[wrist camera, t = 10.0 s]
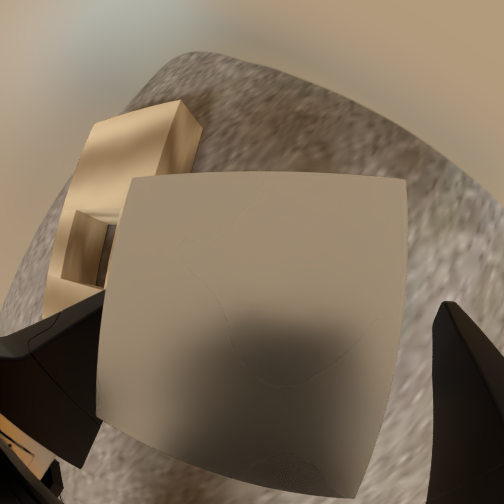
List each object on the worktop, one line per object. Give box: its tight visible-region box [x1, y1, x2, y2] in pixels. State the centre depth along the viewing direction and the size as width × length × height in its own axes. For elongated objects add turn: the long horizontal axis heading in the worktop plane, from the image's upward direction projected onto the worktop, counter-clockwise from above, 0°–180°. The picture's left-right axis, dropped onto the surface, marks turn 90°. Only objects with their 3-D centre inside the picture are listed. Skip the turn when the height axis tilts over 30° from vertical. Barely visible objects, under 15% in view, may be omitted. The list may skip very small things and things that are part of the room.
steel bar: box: [96, 171, 408, 499], centre depth 9 cm, size 4×4×13 cm
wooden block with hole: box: [42, 100, 203, 319], centre depth 20 cm, size 18×10×4 cm, turn 173°
